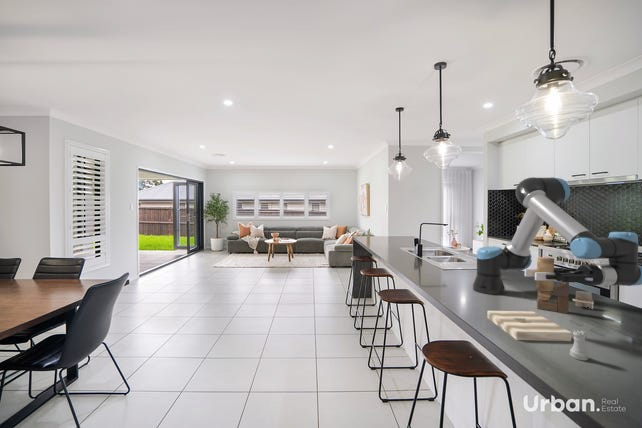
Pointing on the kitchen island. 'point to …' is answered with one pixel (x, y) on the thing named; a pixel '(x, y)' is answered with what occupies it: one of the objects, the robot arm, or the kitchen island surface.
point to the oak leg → (545, 285)
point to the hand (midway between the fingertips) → (530, 274)
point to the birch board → (528, 326)
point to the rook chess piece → (579, 346)
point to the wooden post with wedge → (562, 299)
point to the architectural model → (584, 299)
